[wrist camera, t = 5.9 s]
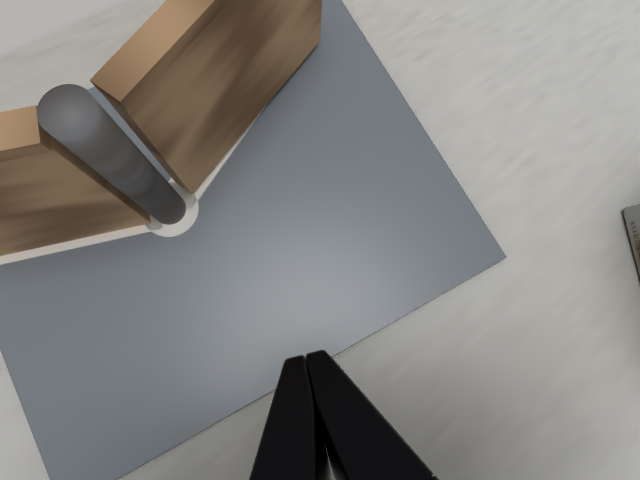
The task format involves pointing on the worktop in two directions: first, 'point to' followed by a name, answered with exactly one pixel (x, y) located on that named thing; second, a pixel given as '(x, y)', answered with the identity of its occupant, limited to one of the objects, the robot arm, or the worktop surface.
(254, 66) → the fence panel
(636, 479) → the worktop surface
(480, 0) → the worktop surface
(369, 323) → the mat
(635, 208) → the coffee box
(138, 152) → the fence fixed
